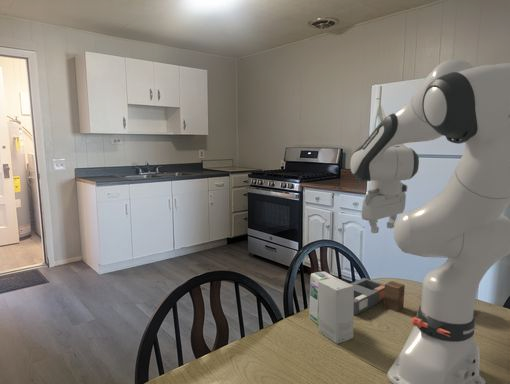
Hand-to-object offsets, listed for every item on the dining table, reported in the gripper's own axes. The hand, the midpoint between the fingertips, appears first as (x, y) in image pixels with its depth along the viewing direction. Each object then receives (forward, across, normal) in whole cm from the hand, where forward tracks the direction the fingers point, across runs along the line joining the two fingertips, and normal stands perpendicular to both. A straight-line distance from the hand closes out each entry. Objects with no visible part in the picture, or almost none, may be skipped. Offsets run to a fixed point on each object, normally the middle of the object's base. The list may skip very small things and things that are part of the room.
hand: (382, 230), depth 114 cm
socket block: (+26, -1, +7) cm, 27 cm away
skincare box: (+27, -25, -1) cm, 36 cm away
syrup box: (+27, -21, +7) cm, 34 cm away
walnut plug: (+26, +4, -3) cm, 27 cm away
